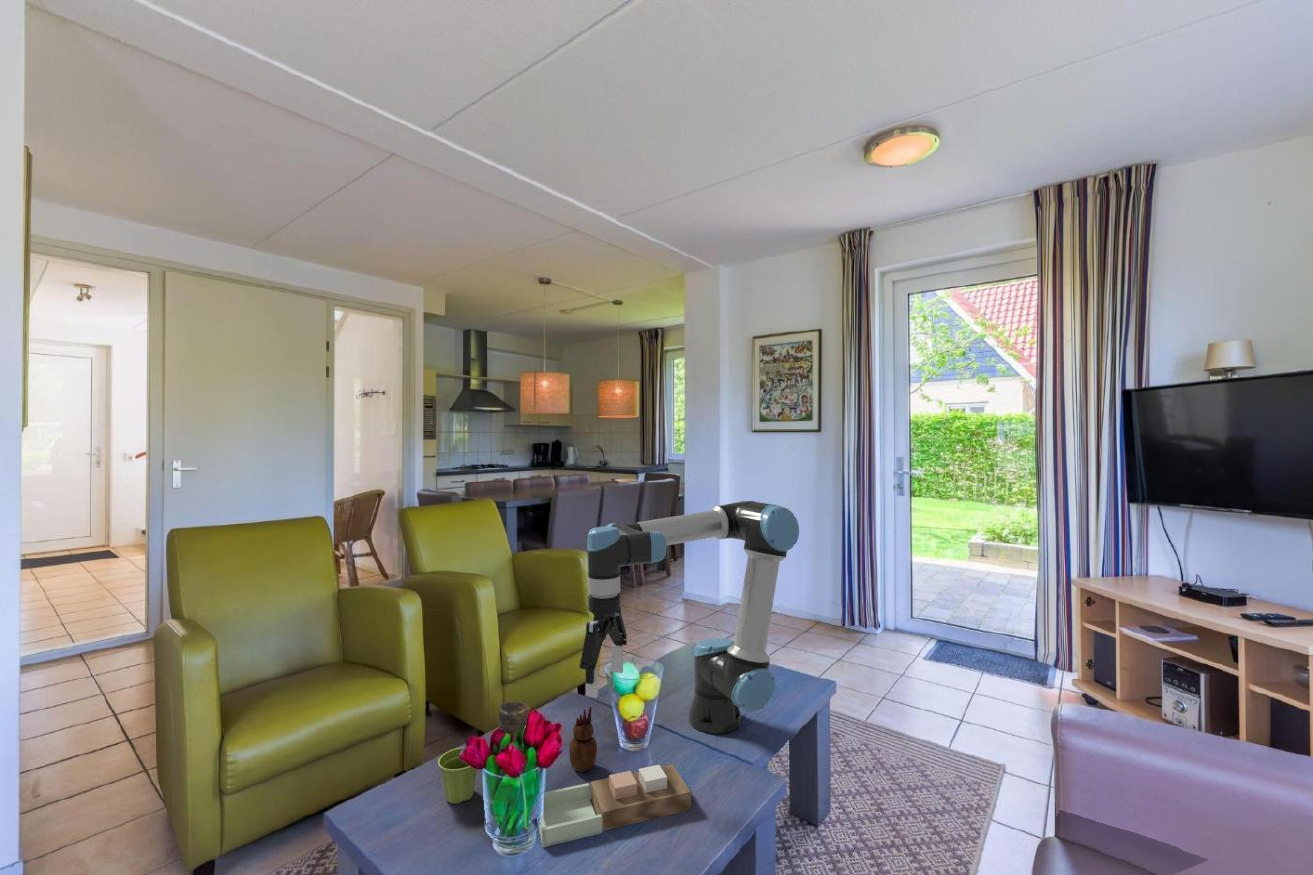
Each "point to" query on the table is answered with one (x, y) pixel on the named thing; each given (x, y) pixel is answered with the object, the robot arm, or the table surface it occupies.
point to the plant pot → (457, 777)
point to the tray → (568, 816)
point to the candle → (513, 716)
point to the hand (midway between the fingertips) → (605, 683)
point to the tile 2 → (652, 778)
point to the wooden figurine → (583, 744)
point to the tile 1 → (622, 785)
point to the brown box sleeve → (640, 801)
